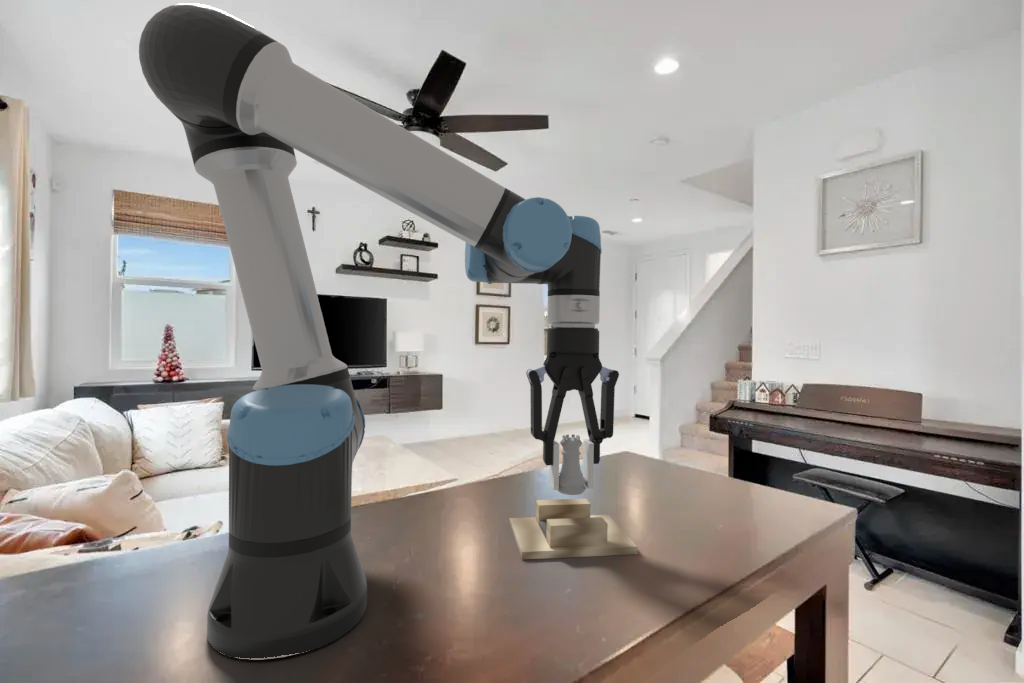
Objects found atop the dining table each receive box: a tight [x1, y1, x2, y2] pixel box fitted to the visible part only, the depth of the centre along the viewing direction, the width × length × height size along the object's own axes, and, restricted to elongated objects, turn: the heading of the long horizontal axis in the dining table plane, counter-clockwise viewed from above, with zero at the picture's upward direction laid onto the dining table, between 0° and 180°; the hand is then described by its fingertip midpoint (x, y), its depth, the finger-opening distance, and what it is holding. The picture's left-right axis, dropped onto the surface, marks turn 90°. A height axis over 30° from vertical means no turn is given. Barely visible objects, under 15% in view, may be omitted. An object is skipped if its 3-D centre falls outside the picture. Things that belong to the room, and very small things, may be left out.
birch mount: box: [508, 498, 638, 561], centre depth 73 cm, size 16×12×4 cm
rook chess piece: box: [557, 433, 587, 496], centre depth 72 cm, size 4×4×8 cm
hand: (571, 485), depth 72 cm, fingers closed on rook chess piece, 4 cm apart
